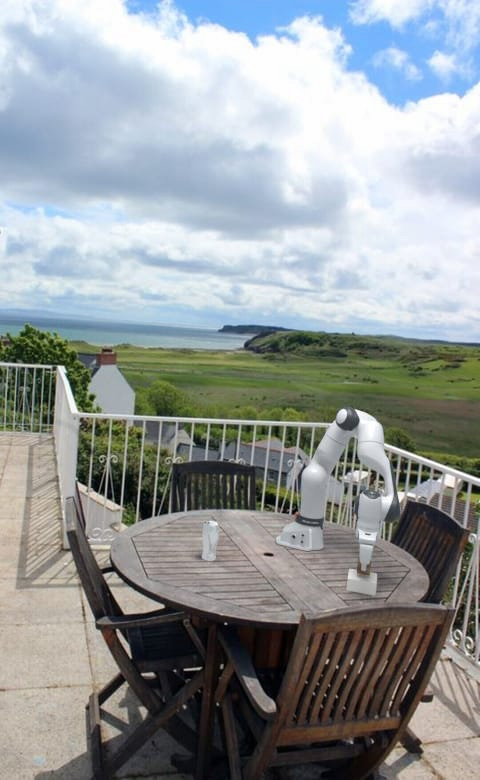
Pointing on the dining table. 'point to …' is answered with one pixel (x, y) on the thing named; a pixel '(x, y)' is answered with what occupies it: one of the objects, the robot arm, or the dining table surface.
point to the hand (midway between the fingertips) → (363, 567)
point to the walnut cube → (366, 568)
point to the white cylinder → (210, 540)
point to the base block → (362, 582)
